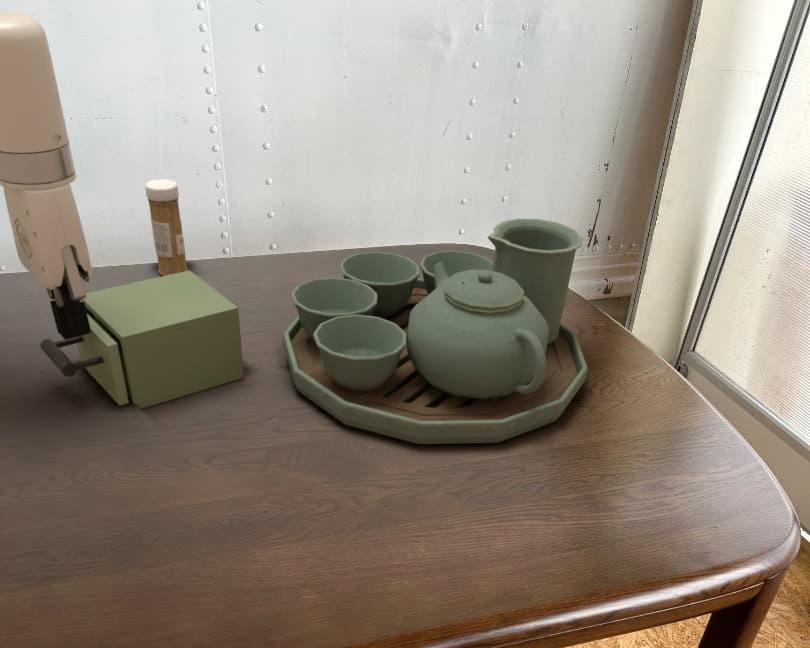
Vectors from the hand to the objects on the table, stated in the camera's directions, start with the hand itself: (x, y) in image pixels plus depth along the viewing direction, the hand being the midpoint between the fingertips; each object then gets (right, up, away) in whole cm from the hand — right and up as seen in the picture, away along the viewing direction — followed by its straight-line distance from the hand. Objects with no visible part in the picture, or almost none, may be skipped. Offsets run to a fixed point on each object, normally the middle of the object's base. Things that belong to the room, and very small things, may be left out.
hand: (74, 333), depth 90 cm
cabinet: (+8, -2, +11) cm, 13 cm away
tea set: (+42, 0, +16) cm, 45 cm away
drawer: (+4, -3, +8) cm, 9 cm away
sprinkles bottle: (+1, +18, +33) cm, 38 cm away
